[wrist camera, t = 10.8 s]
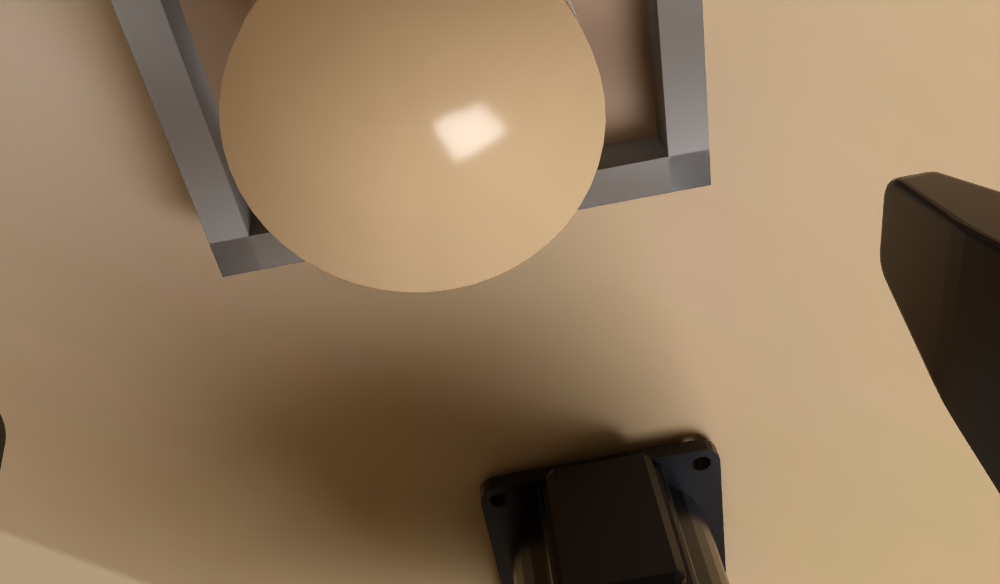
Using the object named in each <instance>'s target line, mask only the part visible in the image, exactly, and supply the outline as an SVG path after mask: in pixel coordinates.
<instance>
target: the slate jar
mask: <svg viewBox="0 0 1000 584" xmlns="http://www.w3.org/2000/svg"><path fill="white" fill-rule="evenodd" d="M219 120H220V130H221V137H222V144H223V149H224V152H225V156H226V159H227V162H228V166H229V169H230V171H231V174H232V176H233V178H234V180H235V182H236V185H237V187H238V189H239V191H240V193H241V194H242V196H243V198H244V199H245V201H246V202H247V204H248V206H249V207H250V209H251V210H252V212H253V213H254V214H255V215H256V217H257V218H258V219H259V220H260V222H261V223H262V224H263V225H264V226H265V228H266V229H267V230H268V231H269V232H270V233H271V234H272V235H273V236H275V237H276V238H277V239H278V240H279V241H280V242H281V243H282V244H283V245H284V246H286V247H287V248H288V249H290V250H291V251H292V252H294V253H295V254H296V255H298V256H299V257H300V258H302V259H303V260H305V261H307V262H308V263H310V264H312V265H314V266H315V267H317V268H319V269H320V270H322V271H325V272H327V273H329V274H331V275H334V276H336V277H338V278H341V279H343V280H346V281H349V282H353V283H356V284H359V285H362V286H366V287H371V288H376V289H381V290H387V291H398V292H435V291H443V290H450V289H456V288H460V287H464V286H468V285H473V284H476V283H479V282H482V281H484V280H487V279H490V278H493V277H495V276H498V275H500V274H502V273H504V272H506V271H508V270H510V269H512V268H514V267H516V266H517V265H519V264H521V263H522V262H524V261H525V260H527V259H528V258H530V257H531V256H533V255H534V254H536V253H537V252H538V251H539V250H540V249H542V248H543V247H544V246H545V245H546V244H548V243H549V242H550V241H551V240H552V239H553V238H554V237H555V236H556V235H557V234H558V233H559V232H560V231H561V230H562V229H563V228H564V226H565V225H566V224H567V223H568V222H569V220H570V219H571V218H572V216H573V215H574V213H575V212H576V211H577V209H578V208H579V207H580V205H581V203H582V201H583V199H584V197H585V196H586V194H587V192H588V190H589V188H590V186H591V184H592V181H593V179H594V176H595V173H596V171H597V168H598V165H599V161H600V157H601V153H602V148H603V144H604V134H605V123H606V117H605V97H604V92H603V87H602V82H601V76H600V73H599V70H598V67H597V64H596V61H595V58H594V55H593V52H592V50H591V48H590V45H589V43H588V41H587V38H586V36H585V34H584V31H583V29H582V27H581V25H580V22H579V20H578V18H577V15H576V13H575V11H574V9H573V6H572V4H571V2H570V0H253V3H252V5H251V7H250V9H249V11H248V14H247V16H246V18H245V20H244V22H243V25H242V27H241V29H240V31H239V33H238V36H237V38H236V40H235V42H234V44H233V46H232V49H231V51H230V53H229V57H228V60H227V63H226V67H225V70H224V74H223V78H222V85H221V92H220V99H219Z"/></svg>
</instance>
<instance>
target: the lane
mask: <svg viewBox="0 0 1000 584" xmlns="http://www.w3.org/2000/svg"><path fill="white" fill-rule="evenodd" d="M570 2H571V4H572V6H573V9H574V11H575V13H576V15H577V18H578V20H579V22H580V25H581V27H582V29H583V31H584V34H585V36H586V38H587V41H588V43H589V45H590V48H591V50H592V52H593V55H594V58H595V61H596V64H597V67H598V70H599V73H600V76H601V82H602V87H603V92H604V97H605V117H606V123H605V134H604V144H603V148H602V153H601V157H600V161H599V165H598V168H597V171H596V173H595V176H594V179H593V181H592V184H591V186H590V188H589V190H588V192H587V194H586V196H585V197H584V199H583V201H582V203H581V205H580V207H579V208H578V209H577V210H580V209H585V208H590V207H596V206H601V205H606V204H612V203H617V202H622V201H628V200H633V199H638V198H643V197H649V196H654V195H659V194H665V193H670V192H675V191H681V190H686V189H691V188H696V187H702V186H707V185H711V178H710V157H709V135H708V114H707V92H706V71H705V49H704V28H703V6H702V0H570ZM111 3H112V5H113V8H114V10H115V13H116V15H117V18H118V20H119V22H120V25H121V27H122V30H123V32H124V35H125V37H126V40H127V42H128V45H129V47H130V50H131V52H132V54H133V57H134V59H135V62H136V64H137V67H138V69H139V72H140V74H141V77H142V79H143V82H144V84H145V86H146V89H147V91H148V94H149V96H150V99H151V101H152V104H153V106H154V109H155V111H156V114H157V116H158V119H159V121H160V123H161V126H162V128H163V131H164V133H165V136H166V138H167V141H168V143H169V146H170V148H171V151H172V153H173V155H174V158H175V160H176V163H177V165H178V168H179V170H180V173H181V175H182V178H183V180H184V183H185V185H186V188H187V190H188V192H189V195H190V197H191V200H192V202H193V205H194V207H195V210H196V212H197V215H198V217H199V220H200V222H201V224H202V227H203V229H204V232H205V234H206V237H207V239H208V242H209V244H210V247H211V249H212V252H213V254H214V256H215V259H216V261H217V264H218V266H219V269H220V271H221V274H222V276H223V277H224V276H230V275H235V274H240V273H246V272H251V271H256V270H262V269H267V268H272V267H277V266H283V265H288V264H293V263H299V262H304V261H305V260H303V259H302V258H300V257H299V256H298V255H296V254H295V253H294V252H292V251H291V250H290V249H288V248H287V247H286V246H284V245H283V244H282V243H281V242H280V241H279V240H278V239H277V238H276V237H275V236H273V235H272V234H271V233H270V232H269V231H268V230H267V229H266V228H265V226H264V225H263V224H262V223H261V222H260V220H259V219H258V218H257V217H256V215H255V214H254V213H253V212H252V210H251V209H250V207H249V206H248V204H247V202H246V201H245V199H244V198H243V196H242V194H241V193H240V191H239V189H238V187H237V185H236V182H235V180H234V178H233V176H232V174H231V171H230V169H229V166H228V162H227V159H226V156H225V152H224V149H223V144H222V137H221V130H220V120H219V99H220V92H221V85H222V78H223V74H224V70H225V67H226V63H227V60H228V57H229V53H230V51H231V49H232V46H233V44H234V42H235V40H236V38H237V36H238V33H239V31H240V29H241V27H242V25H243V22H244V20H245V18H246V16H247V14H248V11H249V9H250V7H251V5H252V3H253V0H111Z"/></svg>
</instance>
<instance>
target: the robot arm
mask: <svg viewBox="0 0 1000 584" xmlns="http://www.w3.org/2000/svg"><path fill="white" fill-rule="evenodd" d="M880 262H881V267H882V271H883V275H884V277H885V280H886V282H887V284H888V286H889V288H890V290H891V293H892V295H893V297H894V299H895V301H896V303H897V306H898V308H899V310H900V312H901V314H902V316H903V318H904V321H905V323H906V325H907V327H908V329H909V331H910V334H911V336H912V338H913V340H914V342H915V344H916V347H917V349H918V351H919V353H920V355H921V357H922V359H923V362H924V364H925V366H926V368H927V370H928V372H929V375H930V377H931V379H932V381H933V383H934V385H935V387H936V389H937V391H938V393H939V395H940V397H941V399H942V401H943V403H944V404H945V406H946V408H947V410H948V411H949V413H950V415H951V416H952V418H953V420H954V421H955V423H956V425H957V426H958V428H959V429H960V431H961V433H962V434H963V436H964V437H965V439H966V441H967V442H968V444H969V445H970V447H971V449H972V450H973V452H974V453H975V455H976V457H977V458H978V460H979V461H980V463H981V465H982V466H983V468H984V469H985V471H986V473H987V474H988V476H989V477H990V479H991V480H992V482H993V484H994V485H995V487H996V488H997V490H998V492H999V493H1000V192H999V191H996V190H992V189H989V188H986V187H983V186H980V185H976V184H973V183H970V182H967V181H964V180H960V179H957V178H954V177H951V176H947V175H944V174H941V173H938V172H925V173H920V174H914V175H909V176H904V177H899V178H895V179H893V180H892V181H891V182H890V183H889V184H888V185H887V188H886V191H885V194H884V205H883V218H882V231H881V245H880ZM5 440H6V431H5V425H4V422H3V419H2V417H1V414H0V468H1V463H2V458H3V452H4V447H5ZM699 457H704V458H702V459H700V460H695V459H697V458H699ZM495 494H503V495H501V496H494V495H495ZM480 498H481V505H482V509H483V513H484V517H485V521H486V525H487V528H488V532H489V536H490V540H491V544H492V548H493V551H494V555H495V559H496V563H497V567H498V571H499V575H500V578H501V582H502V584H729V581H728V578H727V575H726V568H725V548H724V528H723V507H722V487H721V467H720V458H719V455H718V453H717V450H716V448H715V445H714V444H713V443H711V442H710V441H707V440H694V441H688V442H683V443H677V444H671V445H666V446H660V447H655V448H649V449H644V450H638V451H633V452H627V453H622V454H616V455H611V456H605V457H600V458H594V459H589V460H583V461H578V462H572V463H567V464H561V465H556V466H550V467H545V468H539V469H534V470H528V471H523V472H517V473H512V474H506V475H500V476H495V477H492V478H489V479H487V480H486V481H485V482H483V484H482V485H481V487H480Z"/></svg>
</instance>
